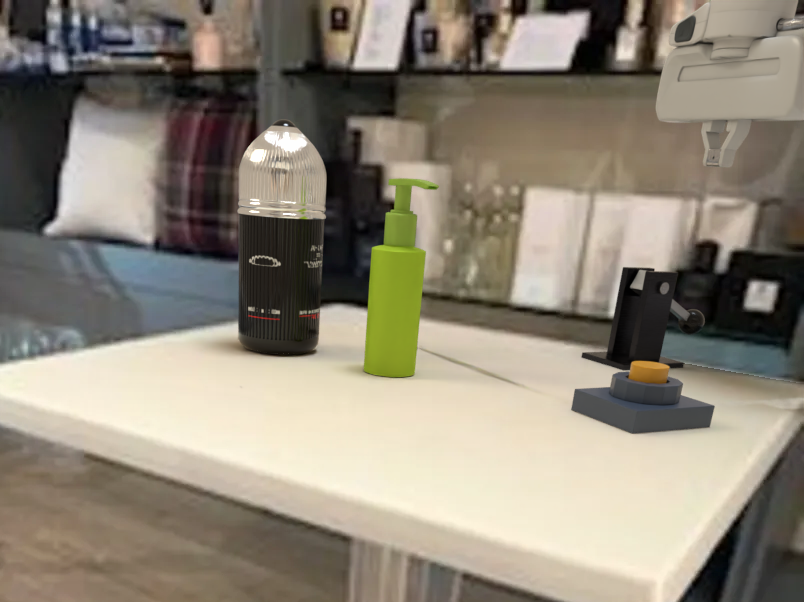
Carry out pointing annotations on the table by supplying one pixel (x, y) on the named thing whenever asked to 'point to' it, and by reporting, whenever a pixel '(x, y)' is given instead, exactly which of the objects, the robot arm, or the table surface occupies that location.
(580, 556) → the table surface
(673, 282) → the bracket
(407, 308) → the soap dispenser
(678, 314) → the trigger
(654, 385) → the button housing
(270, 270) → the spray bottle
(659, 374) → the button
